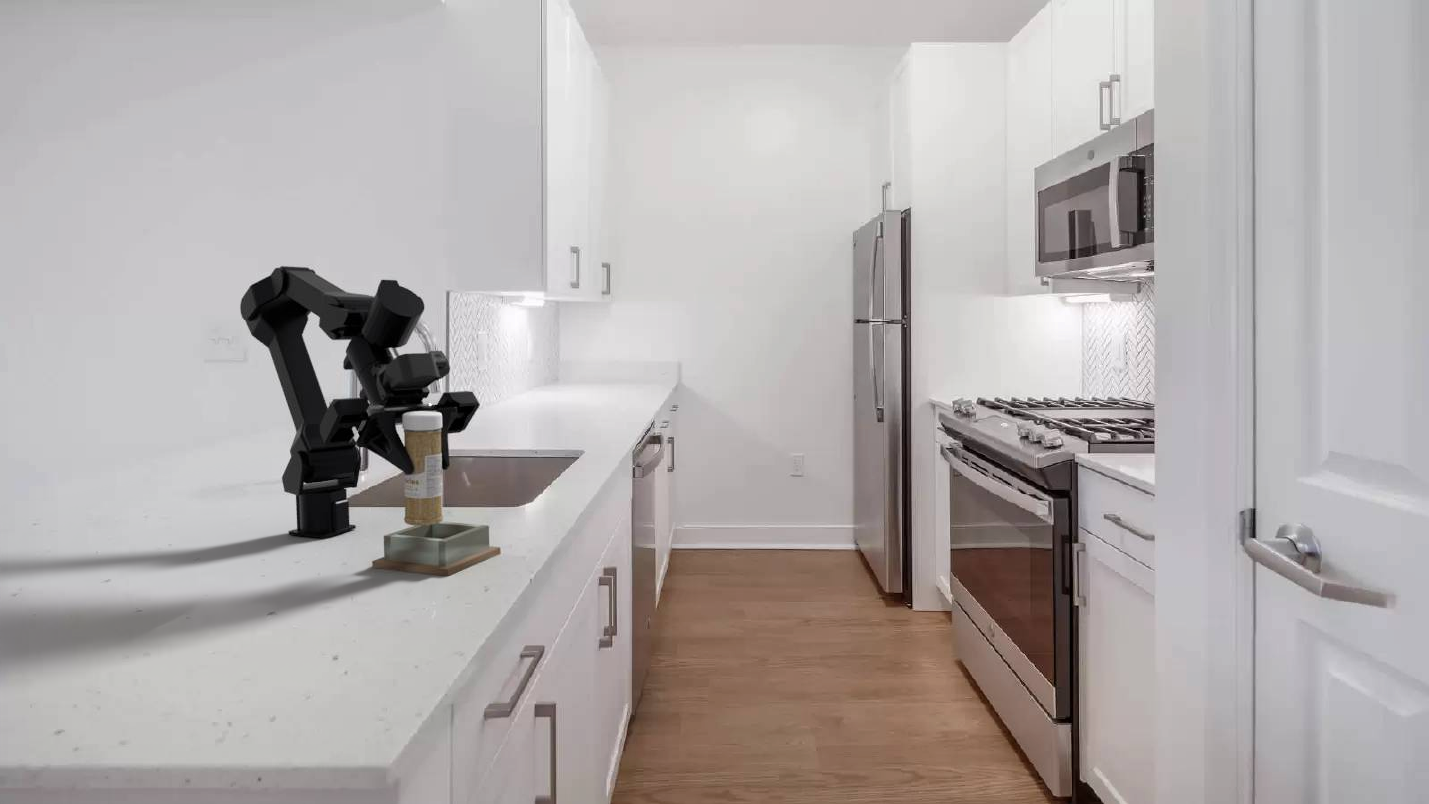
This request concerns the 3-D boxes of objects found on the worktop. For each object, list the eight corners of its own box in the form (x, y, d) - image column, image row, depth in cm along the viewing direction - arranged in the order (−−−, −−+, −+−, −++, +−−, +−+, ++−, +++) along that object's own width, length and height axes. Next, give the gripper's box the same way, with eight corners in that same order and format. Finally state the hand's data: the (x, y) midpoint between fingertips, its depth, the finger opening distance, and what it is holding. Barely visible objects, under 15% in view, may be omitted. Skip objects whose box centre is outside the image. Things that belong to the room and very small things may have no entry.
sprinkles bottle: (396, 523, 105) (393, 412, 104) (427, 516, 109) (425, 409, 107) (420, 528, 102) (418, 415, 101) (451, 521, 106) (450, 412, 105)
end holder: (372, 567, 106) (371, 536, 106) (429, 546, 117) (429, 518, 116) (448, 576, 103) (447, 544, 102) (500, 553, 113) (499, 524, 113)
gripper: (327, 329, 99) (377, 435, 93) (470, 329, 113) (522, 421, 107) (300, 393, 105) (344, 496, 99) (439, 385, 119) (486, 476, 113)
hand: (429, 470), depth 104 cm, fingers closed on sprinkles bottle, 4 cm apart
